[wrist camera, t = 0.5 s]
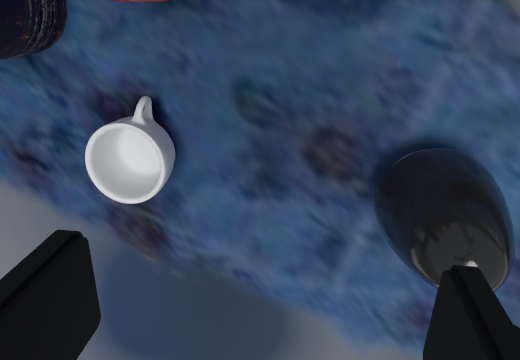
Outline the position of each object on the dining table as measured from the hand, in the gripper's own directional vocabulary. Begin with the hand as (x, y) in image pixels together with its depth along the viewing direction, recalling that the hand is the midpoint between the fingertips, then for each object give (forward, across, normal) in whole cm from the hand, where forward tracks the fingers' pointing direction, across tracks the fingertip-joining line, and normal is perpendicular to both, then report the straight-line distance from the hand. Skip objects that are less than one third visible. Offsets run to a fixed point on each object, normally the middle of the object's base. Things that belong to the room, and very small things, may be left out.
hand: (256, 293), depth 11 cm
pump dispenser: (+30, -12, +9) cm, 34 cm away
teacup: (+30, +15, +6) cm, 34 cm away
